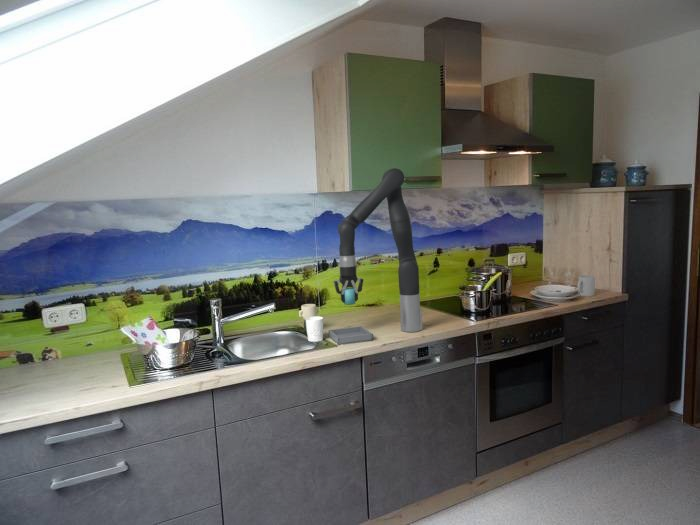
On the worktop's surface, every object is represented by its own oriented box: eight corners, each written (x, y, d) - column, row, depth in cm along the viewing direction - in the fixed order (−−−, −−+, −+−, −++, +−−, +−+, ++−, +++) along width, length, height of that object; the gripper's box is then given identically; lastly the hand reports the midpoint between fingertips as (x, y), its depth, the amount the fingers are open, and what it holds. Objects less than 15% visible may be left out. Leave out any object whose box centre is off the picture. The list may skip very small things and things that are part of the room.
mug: (584, 293, 303) (584, 275, 302) (597, 294, 296) (597, 276, 295) (571, 295, 297) (571, 277, 296) (584, 297, 290) (584, 278, 289)
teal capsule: (353, 302, 237) (352, 287, 236) (356, 304, 232) (355, 289, 231) (342, 303, 235) (342, 288, 234) (345, 305, 230) (344, 290, 229)
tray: (361, 332, 238) (361, 326, 238) (373, 340, 223) (372, 333, 222) (328, 336, 233) (328, 330, 233) (338, 345, 218) (337, 338, 218)
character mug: (315, 328, 250) (314, 302, 249) (323, 330, 245) (322, 304, 243) (296, 332, 244) (294, 306, 242) (304, 335, 238) (302, 308, 237)
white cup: (326, 337, 231) (325, 316, 230) (321, 342, 224) (319, 320, 223) (310, 337, 233) (309, 316, 232) (304, 342, 226) (302, 320, 225)
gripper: (360, 263, 237) (362, 299, 239) (330, 265, 233) (332, 301, 235) (365, 264, 229) (366, 301, 231) (334, 267, 226) (336, 304, 228)
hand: (349, 301), depth 233 cm, fingers closed on teal capsule, 5 cm apart
